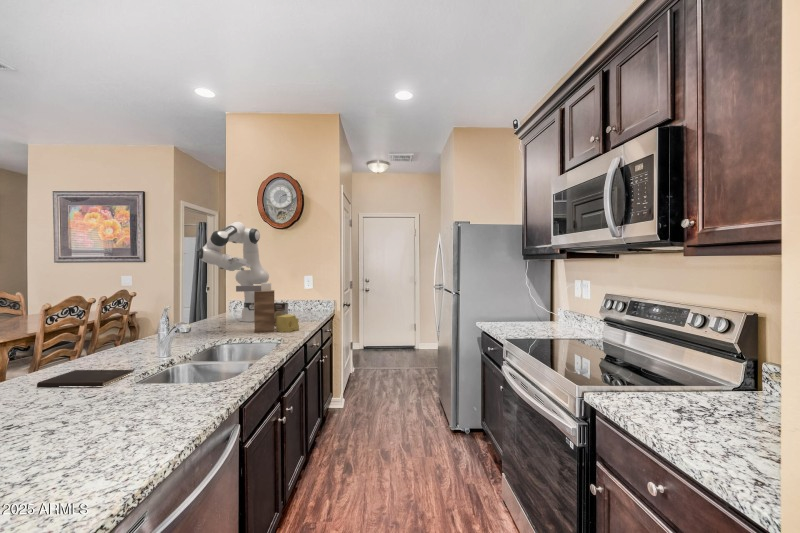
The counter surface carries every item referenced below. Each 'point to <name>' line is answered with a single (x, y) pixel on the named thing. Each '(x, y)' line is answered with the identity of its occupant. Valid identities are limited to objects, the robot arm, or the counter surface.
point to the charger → (254, 287)
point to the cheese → (287, 323)
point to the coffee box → (280, 310)
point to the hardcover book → (85, 378)
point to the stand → (263, 311)
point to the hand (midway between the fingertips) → (246, 268)
